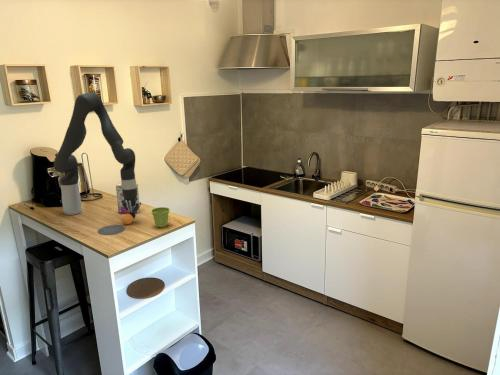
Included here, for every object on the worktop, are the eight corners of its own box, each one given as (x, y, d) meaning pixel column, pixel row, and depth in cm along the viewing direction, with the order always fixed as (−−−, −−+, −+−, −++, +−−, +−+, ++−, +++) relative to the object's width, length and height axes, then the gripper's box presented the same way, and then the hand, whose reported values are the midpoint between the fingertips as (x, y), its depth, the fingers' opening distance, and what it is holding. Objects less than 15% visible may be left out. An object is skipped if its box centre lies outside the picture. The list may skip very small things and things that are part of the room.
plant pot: (151, 223, 199) (150, 208, 197) (169, 221, 202) (168, 206, 200) (153, 230, 191) (152, 213, 188) (172, 227, 194) (171, 211, 192)
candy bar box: (118, 213, 215) (115, 185, 211) (121, 210, 220) (119, 183, 216) (137, 213, 214) (134, 186, 210) (140, 211, 219) (138, 183, 215)
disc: (92, 231, 189) (91, 231, 189) (112, 223, 200) (112, 223, 199) (109, 236, 182) (109, 236, 182) (130, 228, 193) (130, 227, 193)
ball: (126, 221, 203) (118, 223, 198) (127, 211, 202) (120, 213, 197) (134, 224, 200) (126, 226, 195) (135, 214, 199) (128, 216, 194)
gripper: (114, 187, 197) (118, 218, 202) (132, 190, 191) (136, 222, 196) (125, 183, 204) (129, 214, 208) (143, 186, 197) (147, 217, 202)
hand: (132, 218), depth 202 cm, fingers closed
